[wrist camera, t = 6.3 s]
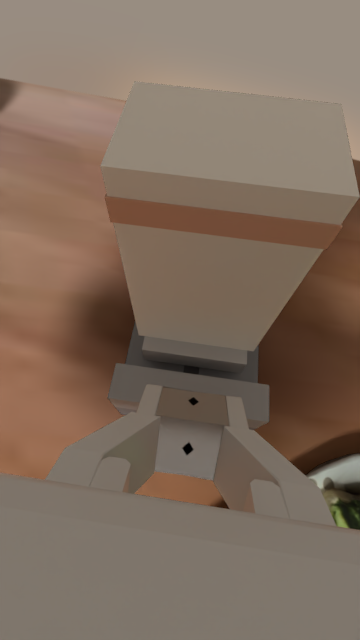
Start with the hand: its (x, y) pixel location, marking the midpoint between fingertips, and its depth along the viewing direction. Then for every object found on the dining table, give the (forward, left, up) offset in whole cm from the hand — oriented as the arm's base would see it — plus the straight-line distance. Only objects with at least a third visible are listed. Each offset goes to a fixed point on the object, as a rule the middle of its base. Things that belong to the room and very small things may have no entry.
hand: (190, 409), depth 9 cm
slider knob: (+5, +2, -5) cm, 7 cm away
